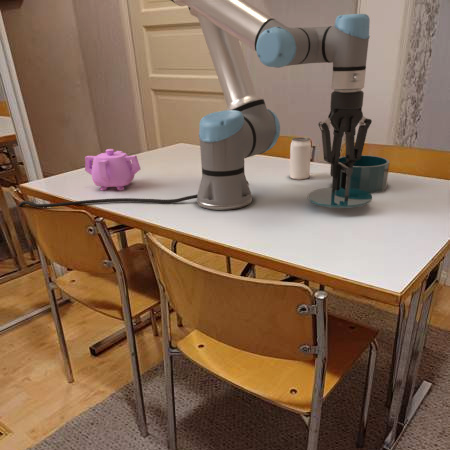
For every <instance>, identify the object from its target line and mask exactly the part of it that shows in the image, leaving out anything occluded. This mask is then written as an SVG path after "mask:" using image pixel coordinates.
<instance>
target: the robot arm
mask: <svg viewBox="0 0 450 450" xmlns="http://www.w3.org/2000/svg"><path fill="white" fill-rule="evenodd" d="M170 2H172V3H174V4H175V5H176V6H179V7H186V6H187V8H188V10H189V13H190V16H193V17H195V18H197V19H198V22H199V25H200V28H201V31H202V34H203V38H204V40H205V43H206V46H207V49H208V52H209V55H210V58H211V61H212V64H213V67H214V70H215V73H216V76H217V78H218V82H219V85H220V88H221V90H222V94H223V96H224V99H225V102H226V105H227V107H226V109H225V110H220V111H214V112H211V113H207V114H206V115H204V116H203V117H202V118H200V121H199V132H198V137H199V148H200V163H201V179H200V182H199V187H198V192H197V194H192V195H188V196H187V195H186V196H183V197H178V198H173V199H172V198H171V199H161V198H160V199H159V198H133V197H132V198H131V197H127V198H126V197H121V198H100V199H99V198H97V199H88V200H87V199H86V200H77V201H76V200H75V201H66V202H54V203H34V202H32V201H28V200H23V201H21V202H20V203H19V204H18V206H17V208H22V207H24V205H27V206H30V207H32V208H39V209H40V208H54V207H55V208H57V207H66V206H67V207H68V206H77V205H79V206H80V205H88V204H89V205H90V204H103V203H118V202H120V203H122V202H123V203H127V202H128V203H157V204H174V203H175V204H176V203H181V202H184V201H189V200H194V199H196V200H197V201H196V202H197V203H196V204H197V205H198V206H199V207H201V208H203V209H207V210H214V211H229V210H236V209H242V208H245V207H247V206H248V205H250V204H251V203H252V192H251V189H250V184H249V181H248V180H247V177H246V174H245V173H246V172H245V159H247V158H251V157H254V156H256V155H263V154H265V153H266V152H267V151H270V150H271V149H272V148H274V147H275V145H277V142H278V140H279V138H280V134H281V124H280V120H279V118H278V116H277V114H276V113H275V112H274V111H272V109H269V108H267V106H266V105H267V104H266V102H265V99H264V97H261V96H260V95H258V94H257V92H256V89H255V86H254V83H253V79H252V76H251V73H250V70H249V68H248V64H247V61H246V59H245V55H244V52H243V49H242V46H241V45H242V44H244V45H245V46H247V47H248V48H250V49H252V50H253V51H255V52H256V55H257V57H258V60H259V61H260V62H261V64H263V65H264V66H266V67H268V68H275V69H277V68H284V67H290V66H297V65H307V64H322V63H323V64H324V63H325V64H327V63H332V75H331V76H332V77H331V89H332V90H333V91H332V92H331V94H330V110H329V111H330V112H329V114H328V117H327V118H326V119H325V120H324V121H319V122H318V125H317V126H318V128H319V129H320V133H321V141H322V142H321V144H322V153H323V161H324V162H326V163H328V164H330V177H331V178H332V179H333V187H332V186H331V188H333V189H335V190H336V191H339V189H340V176H341V165H340V164H338V163H339V157H341V150H342V142H343V137H344V136H345V156H346V162H343V164H344V165H346V166H348V167H350V168H352V169H353V164H354V163H355V162H356V161H357V160H360V159H361V156H362V155H363V152H364V146H365V144H366V143H365V142H366V138H367V134H368V131H369V128H370V126H371V124H372V119H370V118H367V117H366V116H364V114H363V113H364V112H363V106H364V94H365V92H364V91H363V89H364V88H365V83H366V70H367V60H368V50H369V40H370V37H371V36H370V23H371V21H370V16H369V15H368V14H367V13H349V14H340V15H338V16H336V18H335V22H334V25H330V26H310V27H308V26H307V27H291V26H290V27H289V26H287V25H285V24H284V23H282V22H281V21H279V20H277V19H275V18H274V17H272V16H271V15H270V14H268V13H267V12H265V11H263V10H261V9H260V8H259V7H257V6H255V5H254V4H252V3H250V2H249V1H248V0H170ZM241 43H242V44H241ZM358 125H359V126H358ZM331 126H332V128H333V133H332V134H333V139H331V131H330V129H331ZM357 126H358V129H356V128H357ZM356 130H357V134H356ZM355 136H356V137H355ZM346 175H347V174H346V173H345V172H343V171H342V177H341V188H343V189H345V187H346ZM351 175H352V173H351V174H350V176H351Z"/></svg>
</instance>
